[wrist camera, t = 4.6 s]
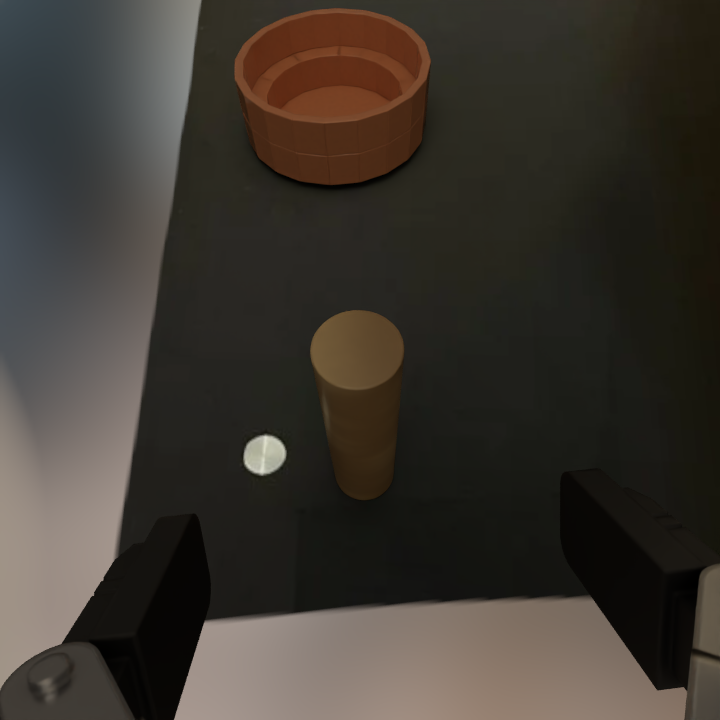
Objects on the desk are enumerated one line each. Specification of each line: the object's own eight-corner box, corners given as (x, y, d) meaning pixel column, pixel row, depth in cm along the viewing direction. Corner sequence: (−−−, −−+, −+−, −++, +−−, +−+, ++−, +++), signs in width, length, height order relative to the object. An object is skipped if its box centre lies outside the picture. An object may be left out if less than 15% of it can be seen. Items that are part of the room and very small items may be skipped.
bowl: (251, 200, 38) (233, 131, 33) (250, 87, 44) (235, 16, 39) (438, 182, 38) (447, 111, 33) (409, 73, 45) (412, 1, 40)
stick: (337, 503, 27) (313, 395, 16) (332, 447, 28) (307, 314, 18) (397, 496, 27) (411, 384, 16) (389, 440, 28) (396, 305, 18)
